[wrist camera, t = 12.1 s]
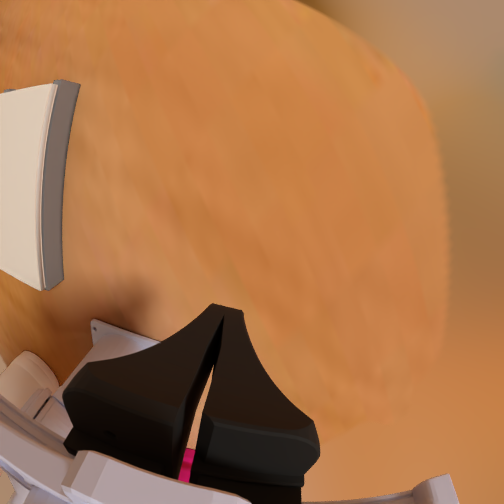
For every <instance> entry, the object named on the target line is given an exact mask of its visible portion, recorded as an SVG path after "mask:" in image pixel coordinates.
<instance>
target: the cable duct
mask: <svg viewBox="0 0 504 504" xmlns="http://www.w3.org/2000/svg"><path fill="white" fill-rule="evenodd" d="M53 84H57V85H58V87H57V91H56V95H55V99H54V104H53V108H52V113H51V118H50V124H49V129H48V136H47V142H46V150H45V158H44V168H43V181H42V202H41V234H42V255H43V267H44V277H45V286H46V288H45V290H47V291H49V290H50V289H52V288H53V287H54V286H56V285H57V284H58V283H60V282H61V281H63V280H64V274H63V256H62V206H63V188H64V176H65V166H66V158H67V150H68V143H69V137H70V131H71V125H72V120H73V115H74V110H75V106H76V101H77V97H78V93H79V89H80V85H81V84H77V83H74V82H70V81H66V80H54V82H53ZM10 91H15V89H7V90H4V93H6V92H10Z"/></svg>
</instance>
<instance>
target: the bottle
mask: <svg viewBox="0 0 504 504" xmlns="http://www.w3.org/2000/svg"><path fill="white" fill-rule="evenodd" d="M39 388H44V389H45V388H49V389H50V390H51V391H52V394H51V396H53V395H54V393H55V392H56V391H57V389H58V388H59V383H58V380H57V378H56V376H55V374H54V373H53V372H52V370H51V369H50V368H49V366H48V365H47V364H46V363H45V362H44V361H43V360H42V359H41V358H39V357H38V356H37V355H35V354H34V353H32V352H30V351H23V352H22V353H21V354H20V355H19V356H17V357H16V358H15V359H14V360H13V361H12V362H11V363H10V365H9V366H8V367H7V368H6V369H5V370H4V371H3V372H2V374H0V394H1V395H2V396H3V397H5V398H6V399H7V400H8V401H10V402H11V403H12V404H14V405H15V406H16V407H17V408H19V409H21V408H22V407H23V405H24V404H25V403H26V401H27V400H28V399H29V398H30V397H31V395H32V394H33V393H34V392H35V391H36V390H37V389H39ZM3 471H4V470H2V469H1V468H0V476H1V474H2V473H3Z"/></svg>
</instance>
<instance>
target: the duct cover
mask: <svg viewBox="0 0 504 504" xmlns="http://www.w3.org/2000/svg"><path fill="white" fill-rule="evenodd" d="M57 87H58V85H57V84H45V85H39V86H34V87H29V88H24V89H19V90H15V91H10V92H6V93H2V94H0V269H1V270H3V271H5V272H6V273H8V274H10V275H11V276H13V277H15V278H17V279H19V280H20V281H22V282H24V283H26V284H28V285H29V286H31V287H33V288H35V289H37V290H39V291H41V290H44V289H45V288H46V286H45V277H44V267H43V255H42V234H41V202H42V181H43V168H44V158H45V150H46V142H47V136H48V129H49V124H50V118H51V113H52V108H53V104H54V99H55V95H56V91H57Z"/></svg>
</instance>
